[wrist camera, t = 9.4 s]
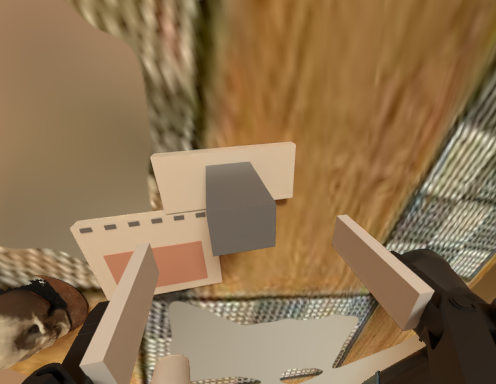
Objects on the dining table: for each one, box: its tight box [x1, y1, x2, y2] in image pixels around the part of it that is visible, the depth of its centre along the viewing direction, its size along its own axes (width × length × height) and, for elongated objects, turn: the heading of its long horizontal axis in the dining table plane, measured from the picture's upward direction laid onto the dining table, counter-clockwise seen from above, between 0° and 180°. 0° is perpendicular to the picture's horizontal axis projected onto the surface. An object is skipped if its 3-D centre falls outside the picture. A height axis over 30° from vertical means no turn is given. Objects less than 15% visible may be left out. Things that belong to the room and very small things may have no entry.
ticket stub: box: [150, 142, 296, 257], centre depth 20 cm, size 7×16×12 cm, turn 93°
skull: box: [0, 275, 88, 370], centre depth 28 cm, size 12×10×10 cm
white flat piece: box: [70, 209, 222, 301], centre depth 28 cm, size 13×16×2 cm
